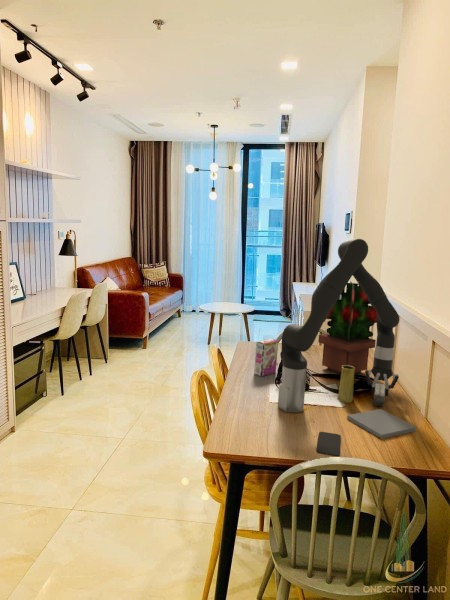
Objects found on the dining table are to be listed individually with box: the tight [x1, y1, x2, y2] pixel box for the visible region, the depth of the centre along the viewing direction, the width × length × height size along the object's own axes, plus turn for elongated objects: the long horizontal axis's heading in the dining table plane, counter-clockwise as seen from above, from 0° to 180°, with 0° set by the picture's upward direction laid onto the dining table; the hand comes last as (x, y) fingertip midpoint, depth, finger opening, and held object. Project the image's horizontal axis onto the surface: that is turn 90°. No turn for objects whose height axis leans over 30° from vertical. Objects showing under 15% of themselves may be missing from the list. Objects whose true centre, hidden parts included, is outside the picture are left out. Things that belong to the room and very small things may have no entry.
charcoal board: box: [346, 408, 417, 439], centre depth 163 cm, size 17×17×2 cm
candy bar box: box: [253, 338, 279, 378], centre depth 213 cm, size 11×5×16 cm, turn 134°
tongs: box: [373, 383, 386, 407], centre depth 187 cm, size 18×4×4 cm, turn 161°
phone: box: [315, 431, 342, 457], centre depth 146 cm, size 7×1×15 cm
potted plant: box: [318, 280, 378, 375], centre depth 221 cm, size 22×22×45 cm
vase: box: [337, 365, 355, 403], centre depth 185 cm, size 6×6×14 cm
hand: (379, 395), depth 187 cm, fingers closed on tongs, 4 cm apart
